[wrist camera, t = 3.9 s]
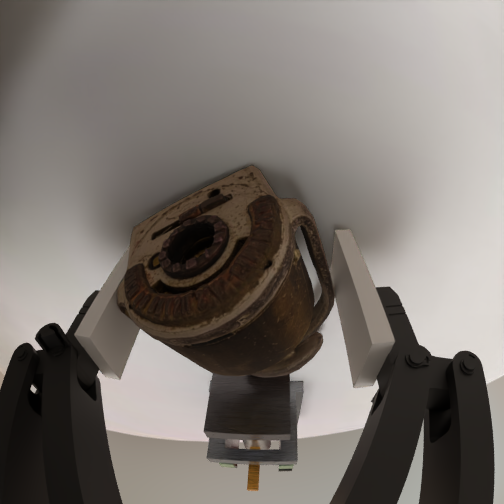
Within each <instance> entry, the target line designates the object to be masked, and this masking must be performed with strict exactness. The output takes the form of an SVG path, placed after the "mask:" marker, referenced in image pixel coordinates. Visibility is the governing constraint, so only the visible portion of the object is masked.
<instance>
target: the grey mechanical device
mask: <svg viewBox="0 0 504 504" xmlns="http://www.w3.org/2000/svg"><path fill="white" fill-rule="evenodd" d="M204 433H205V434H206V436H207V437H209V438H221V439H236V440H243V442H244V445H245V448H246V449H259V450H268V449H269V448H270V445H271V440H290V435H291V425H290V376H289V374H288V375H284V376H278V377H268V378H263V377H257V376H253V375H244V376H223V375H219V374H215V373H213V376H212V382H211V388H210V395H209V401H208V407H207V413H206V420H205V426H204ZM259 468H260V465H251V464H249V471H248V486H247V490H248V491H258V487H259Z"/></svg>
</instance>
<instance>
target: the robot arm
mask: <svg viewBox="0 0 504 504" xmlns="http://www.w3.org/2000/svg"><path fill="white" fill-rule="evenodd" d="M129 248H130V246H129V247H128V249H127V250H126V252H125V253H124V255H123V256H122V257H121V259H120V260H119V262H118V263H117V265H116V266H115V268H114V270H113V271H112V273H111V274H110V276H109V277H108V279H107V280H106V282H105V283H104V285H103V287H102V288H101V290H100V291H97V290H96V291H95V292H94V293H92V294H91V295H90V296H89V297H88V298H87V300H86V301H85V303H84V305H83V308H81V310H80V311H79V314H78V315H77V316H76V318H75V320H74V321H73V323H72V325H71V326H70V328H69V330H68V332H67V333H66V335H65V333H64V332H63V330H62V329H61V327H60V326H59V325H58V324H56V323H49V324H47V325H45V326H44V327H42V328H41V329H40V330H39V331H38V333H37V334H36V337H35V340H36V341H37V342H38V344H39V345H40V346H41V348H42V349H43V350H37V351H36V350H35V349H34V348H33V346H32V345H31V344H29V343H24V344H22V345H20V346H18V347H17V349H16V350H15V351H14V353H13V355H12V358H11V360H10V363H9V366H8V369H7V371H6V374H5V377H4V380H3V383H2V386H1V389H0V504H123V503H122V500H121V496H120V493H119V489H118V485H117V482H116V478H115V474H114V469H113V466H112V460H111V455H110V451H109V445H108V439H107V434H106V427H105V420H104V413H103V405H102V396H101V386H100V381H99V378H98V377H97V373H98V371H99V370H100V371H101V372H102V374H103V375H104V376H105V377H108V378H112V379H118V380H120V379H121V376H122V373H123V371H124V368H125V365H126V363H127V360H128V357H129V355H130V352H131V350H132V347H133V345H134V342H135V340H136V337H137V335H138V332H139V330H140V328H139V327H138V326H137V325H136V324H135V323H134V322H133V321H132V320H131V319H130V318H128V317H127V316H126V315H125V314H123V313H122V312H121V311H120V309H119V307H118V305H117V291H118V287H119V285H120V284H121V282H122V281H123V279H124V275H125V273H126V270H127V266H128V257H129ZM330 275H331V278H332V282H333V286H334V293H335V299H336V303H337V307H338V312H339V316H340V321H341V325H342V330H343V335H344V340H345V344H346V350H347V355H348V360H349V365H350V371H351V376H352V382H353V388H360V387H368V386H373V385H374V383H375V381H376V379H377V381H378V385H379V389H378V391H377V393H376V394H375V396H374V397H373V399H372V401H371V402H373V405H372V408H371V411H370V413H369V416H368V419H367V422H366V424H365V427H364V430H363V433H362V435H361V437H360V441H359V443H358V445H357V447H356V450H355V452H354V454H353V457H352V459H351V461H350V464H349V466H348V468H347V470H346V472H345V474H344V477H343V479H342V481H341V483H340V485H339V487H338V489H337V491H336V492H335V495H334V496H333V498H332V500H331V502H330V504H397V502H398V500H399V497H400V494H401V492H402V489H403V487H404V484H405V481H406V478H407V476H408V473H409V469H410V467H411V463H412V460H413V457H414V454H415V450H416V447H417V443H418V439H419V435H420V431H421V427H422V423H423V419H424V452H423V469H422V482H421V492H420V499H419V504H493V496H494V443H493V430H492V421H491V412H490V405H489V398H488V392H487V387H486V381H485V376H484V372H483V367H482V364H481V361H480V359H479V358H478V357H477V356H476V355H475V354H473V353H472V352H470V351H460V352H458V353H457V354H456V355H455V356H454V358H453V359H448V358H440V357H435V356H431V354H430V352H429V351H428V350H427V349H426V348H425V347H423V346H421V345H419V344H418V342H417V339H416V337H415V334H414V332H413V329H412V327H411V324H410V322H409V319H408V317H407V315H406V314H405V313H406V312H405V310H404V308H403V307H402V303H401V301H400V299H399V296H398V295H397V294H396V293H395V292H394V291H393V290H392V289H391V288H390V287H377V288H375V285H374V283H373V280H372V278H371V275H370V273H369V271H368V268H367V266H366V263H365V261H364V259H363V256H362V254H361V252H360V250H359V247H358V245H357V243H356V241H355V238H354V236H353V234H352V232H351V230H350V229H347V230H335V234H334V244H333V254H332V263H331V271H330ZM31 385H33V386H34V387H35V388H36V389H37V390H36V392H35V393H33V392H32V391H31V390H30V388H31Z"/></svg>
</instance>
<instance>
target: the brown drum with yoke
mask: <svg viewBox="0 0 504 504" xmlns="http://www.w3.org/2000/svg"><path fill="white" fill-rule="evenodd" d="M299 226H300V228H301V230H302V233H303V236H304V238H305V242H306V245H307V248H308V251H309V254H310V257H311V259H312V262H313V265H314V267H315V269H316V272H317V275H318V278H319V281H320V284H321V287H322V294H321V297H320V299H319V301H318V302H317V304H316V305H315V306H314V293H313V288H312V283H311V280H310V278H309V275H308V272H307V269H306V267H305V264H304V261H303V259H302V256H301V253H300V251H299V248H298V246H297V243H296V240H295V232H296V230H297V228H298V227H299ZM334 299H335V293H334V286H333V282H332V278H331V275H330V271H329V267H328V264H327V260H326V256H325V253H324V249H323V246H322V243H321V239H320V236H319V233H318V230H317V226H316V223H315V220H314V217H313V216H312V214H311V213H310V211H309V210H308V209H307V207H306V206H305V205H304V204H303V203H302V202H300V201H299V200H297V199H295V198H282V199H280V198H278V197H277V196H276V195H275V193H274V192H273V190H272V189H271V187H270V185H269V184H268V182H267V181H266V179H265V178H264V176H263V174H262V173H261V171H260V170H259V169H257V168H256V167H254V166H249V167H247V168H244V169H242V170H240V171H237V172H235V173H233V174H231V175H229V176H227V177H225V178H223V179H221V180H219V181H217V182H215V183H213V184H211V185H209V186H207V187H205V188H203V189H201V190H198V191H196V192H194V193H193V194H191V195H189V196H187V197H185V198H183V199H181V200H179V201H177V202H176V203H174V204H172V205H170V206H168V207H167V208H165V209H163V210H161V211H160V212H158V213H156V214H155V215H153V216H151V217H150V218H148V219H146V220H145V221H143V222H142V223H140V224H138V225H137V226H135V227H134V228H133V231H132V234H131V241H130V248H129V257H128V266H127V270H126V273H125V275H124V279H123V281H122V282H121V284H120V285H119V287H118V291H117V305H118V307H119V309H120V311H121V312H122V313H123V314H125V315H126V316H127V317H128V318H130V319H131V320H132V321H133V322H134V323H135V324H136V325H137V326H138V327H139V328H140V329H142V330H143V331H144V332H146V333H147V334H148V335H150V336H151V337H152V338H154V339H156V340H159V341H161V342H162V343H164V344H165V345H167V346H168V347H170V348H172V349H173V350H175V351H176V352H178V353H180V354H181V355H183V356H185V357H186V358H188V359H190V360H191V361H193V362H194V363H196V364H197V365H199V366H201V367H203V368H204V369H206V370H208V371H210V372H212V373H215V374H219V375H223V376H244V375H253V376H257V377H263V378H268V377H278V376H284V375H288V374H290V373H292V372H294V371H296V370H299V369H300V368H301V367H303V366H304V365H305V364H306V363H307V362H309V361H310V360H311V359H312V358H313V357H314V356H315V354H316V353H317V352H318V351H319V350H320V348H321V346H322V343H323V336H322V334H321V333H318V332H316V330H317V329H318V328H319V327H320V326H321V325H322V323H323V322H324V321H325V320H326V319H327V317H328V315H329V313H330V311H331V309H332V307H333V305H334Z"/></svg>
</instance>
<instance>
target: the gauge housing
mask: <svg viewBox="0 0 504 504" xmlns="http://www.w3.org/2000/svg"><path fill="white" fill-rule="evenodd" d="M211 382H212V381H210V387H209V392H210V388H211ZM302 397H303V382H290V425H291V435H290V440H279V450H259V449H239V440H236V439H221V438H209V445H208V453H207V459H208V460H209V461H210V462H219V464H220V465H221V466H222V467H231V468H237V464H251V465H279V471H292V468H293V466H294V464H297V423H298V418H299V413H300V408H301V403H302Z"/></svg>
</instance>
